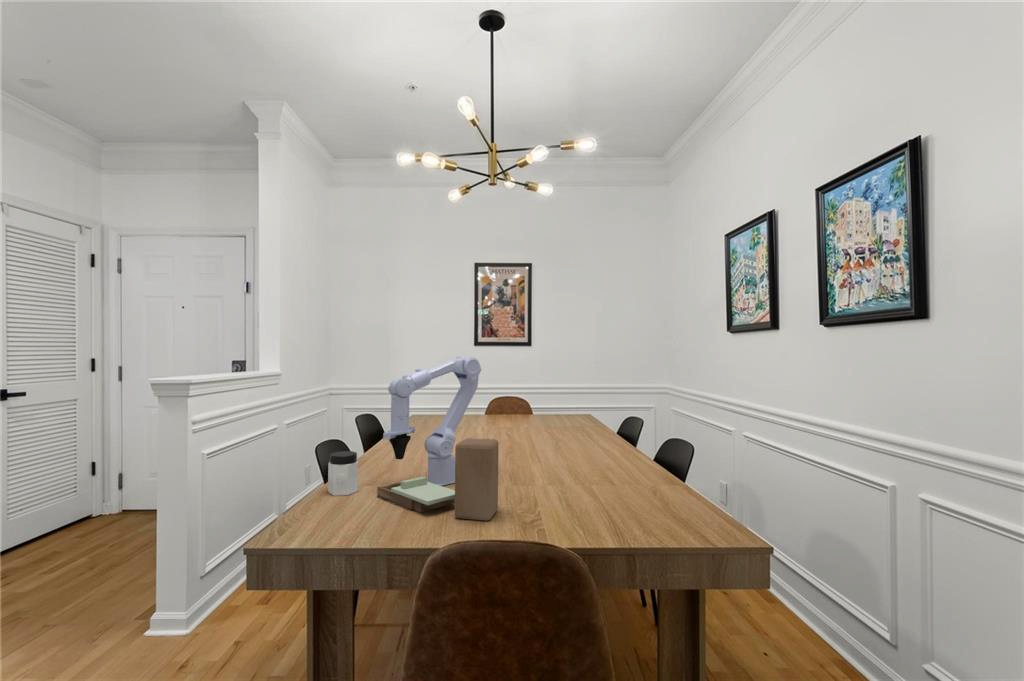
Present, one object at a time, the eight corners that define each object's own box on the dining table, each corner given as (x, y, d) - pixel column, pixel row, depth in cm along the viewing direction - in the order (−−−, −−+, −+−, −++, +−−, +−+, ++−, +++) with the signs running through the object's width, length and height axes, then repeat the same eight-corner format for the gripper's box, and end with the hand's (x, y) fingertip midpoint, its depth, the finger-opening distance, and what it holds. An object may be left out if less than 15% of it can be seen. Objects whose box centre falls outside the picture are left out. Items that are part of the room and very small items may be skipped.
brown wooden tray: (426, 485, 167) (426, 476, 168) (467, 499, 153) (467, 489, 153) (377, 496, 155) (377, 487, 155) (417, 513, 140) (417, 502, 140)
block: (489, 522, 133) (490, 445, 134) (453, 519, 135) (454, 443, 136) (498, 510, 143) (499, 438, 143) (464, 507, 145) (465, 437, 145)
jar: (325, 496, 155) (325, 456, 155) (330, 488, 163) (331, 451, 163) (355, 495, 156) (356, 456, 156) (359, 488, 164) (360, 450, 164)
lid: (424, 484, 158) (424, 474, 158) (462, 496, 145) (462, 485, 145) (390, 491, 149) (391, 481, 149) (427, 505, 137) (427, 493, 137)
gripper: (397, 419, 155) (396, 464, 154) (423, 414, 168) (422, 455, 168) (377, 418, 157) (377, 462, 157) (405, 412, 171) (404, 453, 170)
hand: (399, 458), depth 163 cm, fingers closed
